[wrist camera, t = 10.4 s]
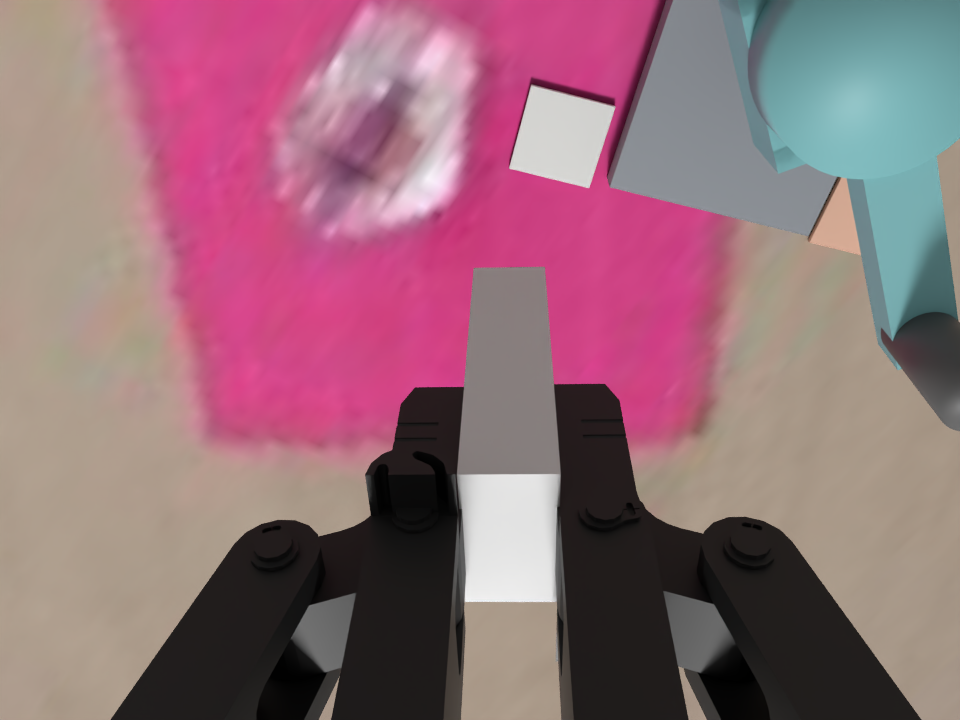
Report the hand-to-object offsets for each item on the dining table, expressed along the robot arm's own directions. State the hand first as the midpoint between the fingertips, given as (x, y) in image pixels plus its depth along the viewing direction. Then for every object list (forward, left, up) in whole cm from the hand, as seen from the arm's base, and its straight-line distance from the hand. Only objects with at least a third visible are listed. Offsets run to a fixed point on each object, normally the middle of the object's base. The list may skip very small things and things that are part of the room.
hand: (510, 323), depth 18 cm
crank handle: (-2, +15, -21) cm, 26 cm away
